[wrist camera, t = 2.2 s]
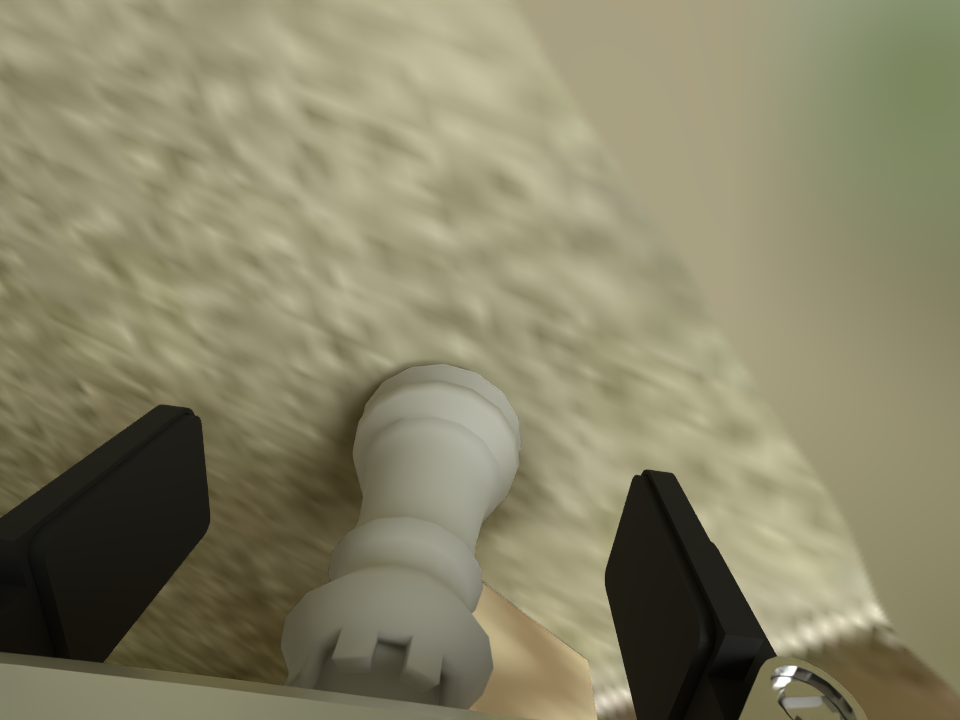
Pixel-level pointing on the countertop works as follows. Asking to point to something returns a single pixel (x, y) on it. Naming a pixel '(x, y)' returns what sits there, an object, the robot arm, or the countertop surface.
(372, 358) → the countertop surface
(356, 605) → the rook chess piece
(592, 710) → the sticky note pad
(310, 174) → the countertop surface
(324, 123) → the countertop surface
